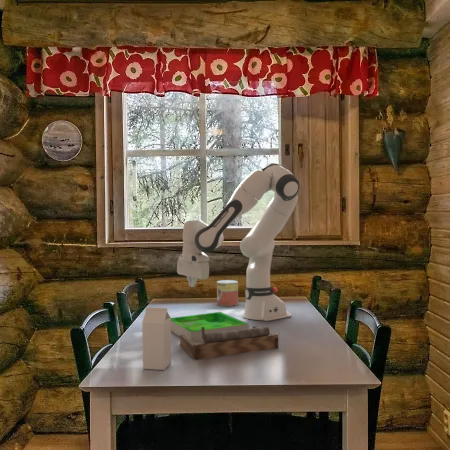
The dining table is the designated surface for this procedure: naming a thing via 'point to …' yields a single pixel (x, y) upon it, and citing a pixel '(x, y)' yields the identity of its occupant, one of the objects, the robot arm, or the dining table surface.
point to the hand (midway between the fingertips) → (192, 286)
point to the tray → (205, 325)
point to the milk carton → (156, 338)
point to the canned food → (227, 292)
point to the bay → (230, 342)
